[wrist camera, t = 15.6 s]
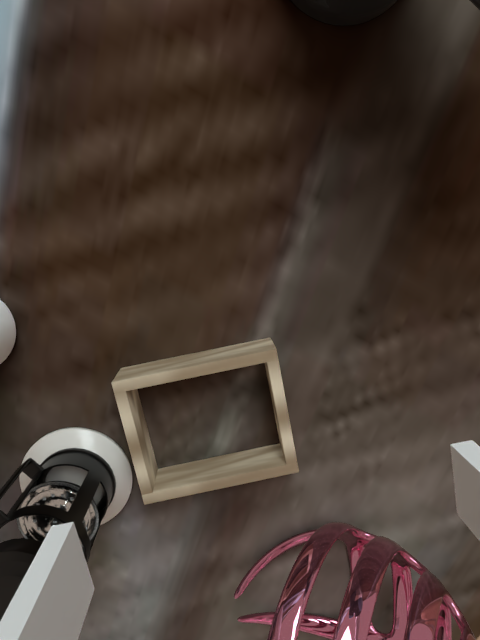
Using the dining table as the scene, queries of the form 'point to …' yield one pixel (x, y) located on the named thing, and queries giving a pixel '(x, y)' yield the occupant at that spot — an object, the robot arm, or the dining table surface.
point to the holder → (214, 469)
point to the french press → (52, 511)
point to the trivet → (91, 442)
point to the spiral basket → (357, 591)
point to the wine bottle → (6, 332)
